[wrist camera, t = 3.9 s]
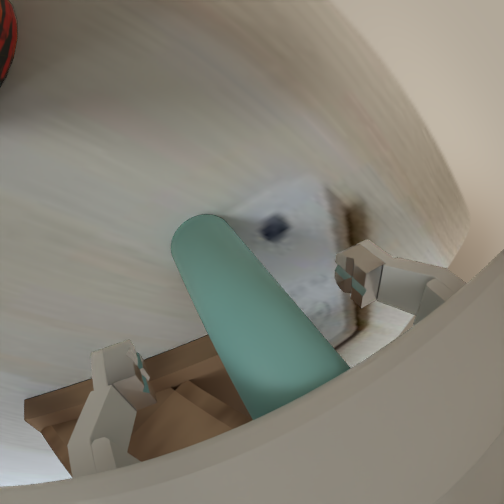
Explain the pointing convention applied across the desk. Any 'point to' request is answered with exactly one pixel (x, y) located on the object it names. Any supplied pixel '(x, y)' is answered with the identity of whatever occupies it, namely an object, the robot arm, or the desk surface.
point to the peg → (251, 318)
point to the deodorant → (7, 37)
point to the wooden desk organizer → (155, 405)
